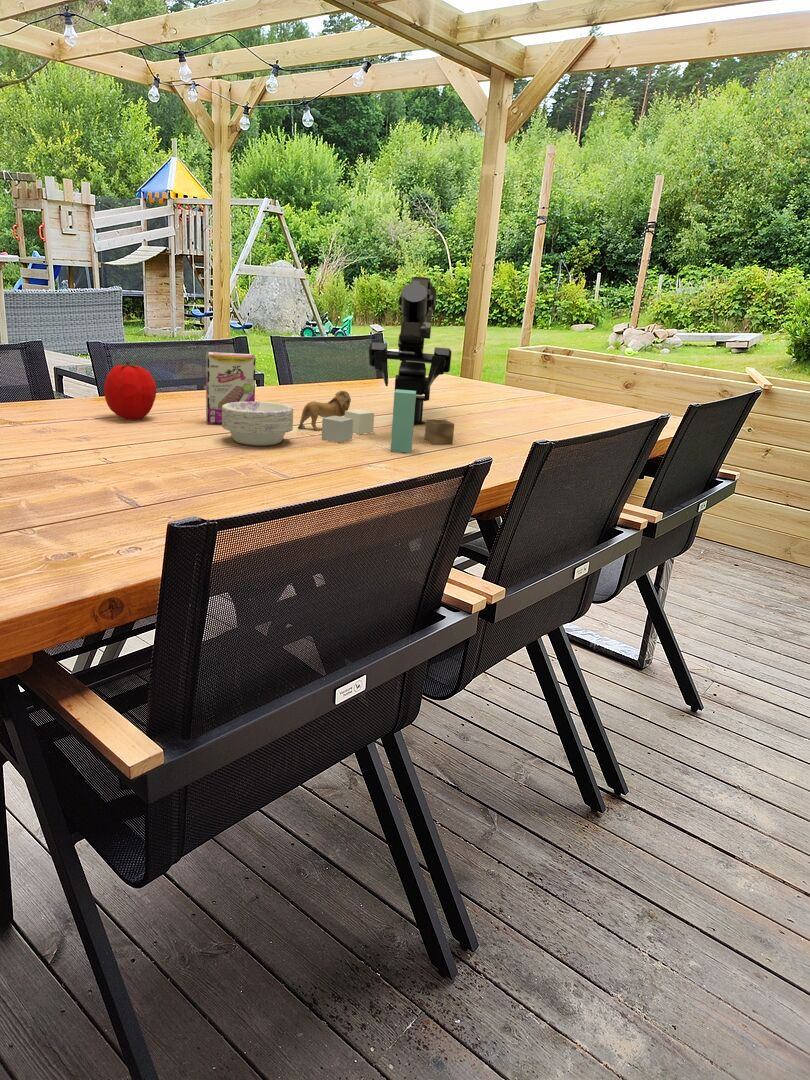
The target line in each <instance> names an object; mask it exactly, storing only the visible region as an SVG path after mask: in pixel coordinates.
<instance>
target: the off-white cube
mask: <svg viewBox="0 0 810 1080" xmlns="http://www.w3.org/2000/svg"><path fill="white" fill-rule="evenodd" d="M344 417H346V418H351V419H353V428H352V434H353V433H356V434H355V435H357V434H361V435H365V434H364V433H368V434H372V433H371V432H373V433H374V425H375V412H373V411H368V410H365V409H361V408H359V409H358V408H357V409H350V410H349V409H348V410H347V411H345V416H344Z"/></svg>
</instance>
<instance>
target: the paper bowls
mask: <svg viewBox="0 0 810 1080" xmlns="http://www.w3.org/2000/svg"><path fill="white" fill-rule="evenodd" d="M221 427H222V429H223V430H225V431H229V433H230V434H231V437H232V439H233V441H235V442H236V443H238V444H242V445H245V446H246V445H247V446H254V447H255V446H259V447H260V446H262V447H265V446H273V445H277V444H279V443H281V442H282V441H283V439H284V437H285V434H286V433H290V432H292V431H293V429H294V408H293V406H290V405H288V404H283V403H278V402H271V401H270V402H268V401H255V402H250V401H249V402H232V403H227V404H224V405H223V406H222V424H221Z"/></svg>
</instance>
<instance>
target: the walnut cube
mask: <svg viewBox="0 0 810 1080" xmlns="http://www.w3.org/2000/svg"><path fill="white" fill-rule="evenodd" d="M425 422H426V423H425V429H424V441H425V440H426V442H427V441H428V442H427V443H429V444H430V445H432V446H436V445H437V446H442V445H443V446H445V445H447V446H449V445H450V446H451V445H452V446H453V443H454V431H455V423H453V422H452V421H449V420H448V419H425Z"/></svg>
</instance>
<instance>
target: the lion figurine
mask: <svg viewBox="0 0 810 1080" xmlns="http://www.w3.org/2000/svg"><path fill="white" fill-rule="evenodd" d="M334 395H335V396H333V397H332V399H330V401H328V402H320V401H316V400H315V401H314V400H313V401H309V402H308V403H306V405H304V407H303V409H302V413H301V416H300V417H301V418H300V420H299V425H298V427H297V430H299V429H305V428H306V426H305V425H303V424H304V423H305V422H306V421H307V420H308V419H309V418H311V422H310V425H311V426H312V428H313V430H314V431H316V432H317V431H321V428H320V427H317V426H316V425H317V424H316V423H317V420H318V418H319V417H321V418H326V417H330V416H340V417H345V411H347V410H349V408H350V405H351V401H352V399H351V395H350V393H349V392H348V391H346V390H339V391H337V392H336V393H334Z"/></svg>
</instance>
